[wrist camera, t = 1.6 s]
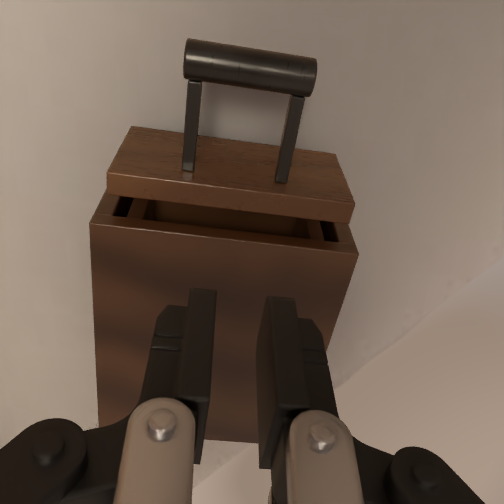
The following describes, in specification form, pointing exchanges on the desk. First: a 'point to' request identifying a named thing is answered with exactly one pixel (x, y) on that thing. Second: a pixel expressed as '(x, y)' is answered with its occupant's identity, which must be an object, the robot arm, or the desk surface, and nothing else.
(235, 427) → the cabinet
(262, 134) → the desk surface
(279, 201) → the drawer
